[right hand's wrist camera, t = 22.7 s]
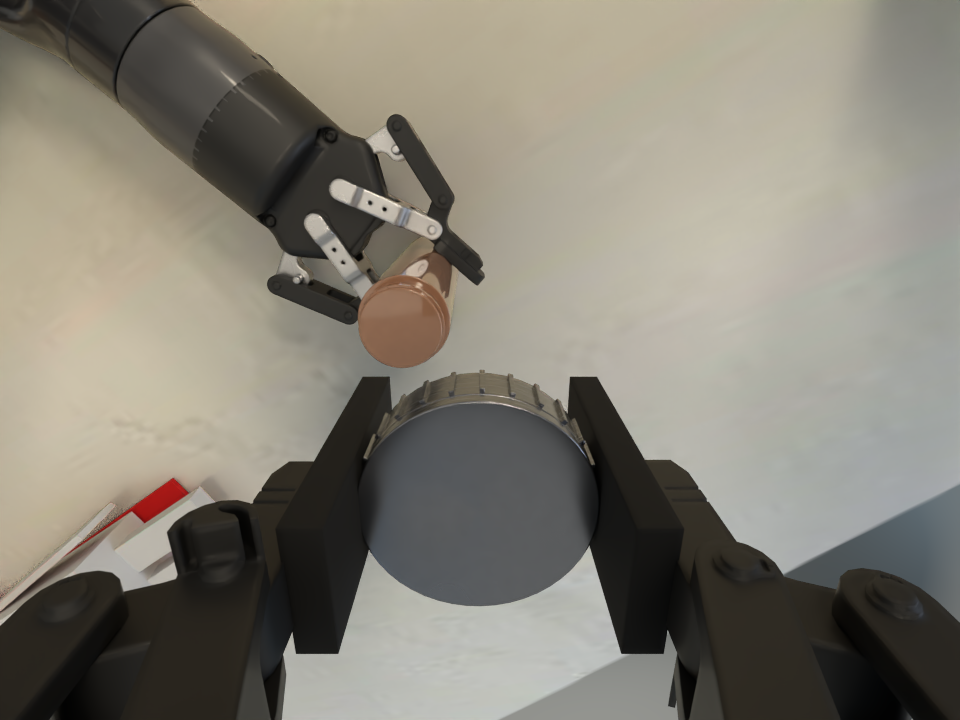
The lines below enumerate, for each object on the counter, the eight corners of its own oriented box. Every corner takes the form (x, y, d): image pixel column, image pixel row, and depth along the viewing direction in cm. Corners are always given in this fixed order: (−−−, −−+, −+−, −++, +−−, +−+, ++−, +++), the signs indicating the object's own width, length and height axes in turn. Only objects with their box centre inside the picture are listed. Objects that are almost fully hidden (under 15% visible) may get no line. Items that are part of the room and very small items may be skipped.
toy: (248, 615, 39) (-63, 819, 40) (289, 517, 51) (53, 674, 53) (130, 502, 35) (-207, 729, 36) (206, 427, 48) (-45, 597, 49)
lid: (634, 467, 12) (656, 508, 11) (481, 593, 13) (482, 644, 12) (473, 321, 11) (472, 343, 9) (322, 475, 12) (301, 517, 11)
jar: (470, 268, 40) (468, 338, 23) (427, 301, 41) (394, 392, 23) (435, 223, 38) (406, 260, 21) (392, 258, 39) (330, 320, 22)
